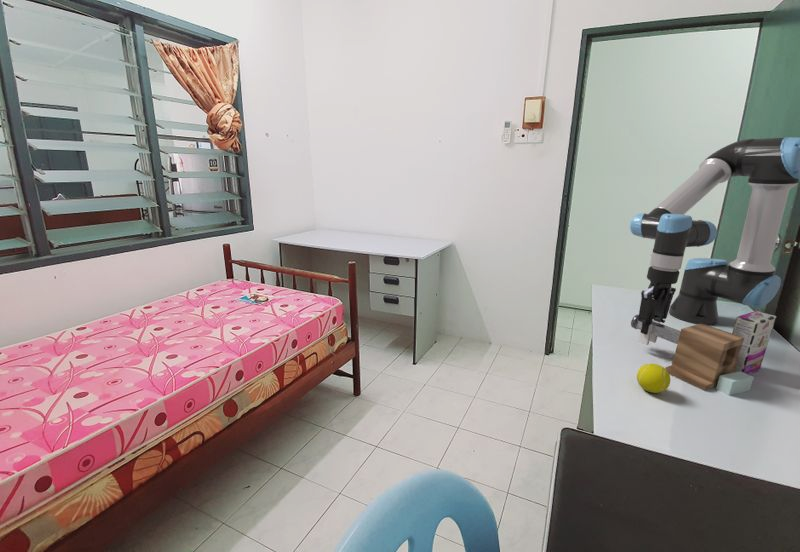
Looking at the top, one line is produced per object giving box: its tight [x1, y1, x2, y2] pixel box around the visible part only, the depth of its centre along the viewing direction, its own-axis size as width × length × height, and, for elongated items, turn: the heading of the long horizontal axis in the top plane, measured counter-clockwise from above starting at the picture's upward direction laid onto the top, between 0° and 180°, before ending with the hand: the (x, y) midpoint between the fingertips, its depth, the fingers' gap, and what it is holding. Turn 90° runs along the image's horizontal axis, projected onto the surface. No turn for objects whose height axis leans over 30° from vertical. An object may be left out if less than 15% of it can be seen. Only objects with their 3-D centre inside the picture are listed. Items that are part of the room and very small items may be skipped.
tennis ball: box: [636, 362, 671, 394], centre depth 96 cm, size 7×7×7 cm
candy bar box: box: [732, 310, 777, 375], centre depth 107 cm, size 11×5×16 cm, turn 117°
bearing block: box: [664, 323, 744, 391], centre depth 104 cm, size 16×10×12 cm, turn 117°
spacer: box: [715, 371, 755, 396], centre depth 99 cm, size 8×4×3 cm
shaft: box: [630, 314, 681, 345], centre depth 112 cm, size 4×21×4 cm, turn 27°
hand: (647, 341), depth 118 cm, fingers closed on shaft, 3 cm apart
